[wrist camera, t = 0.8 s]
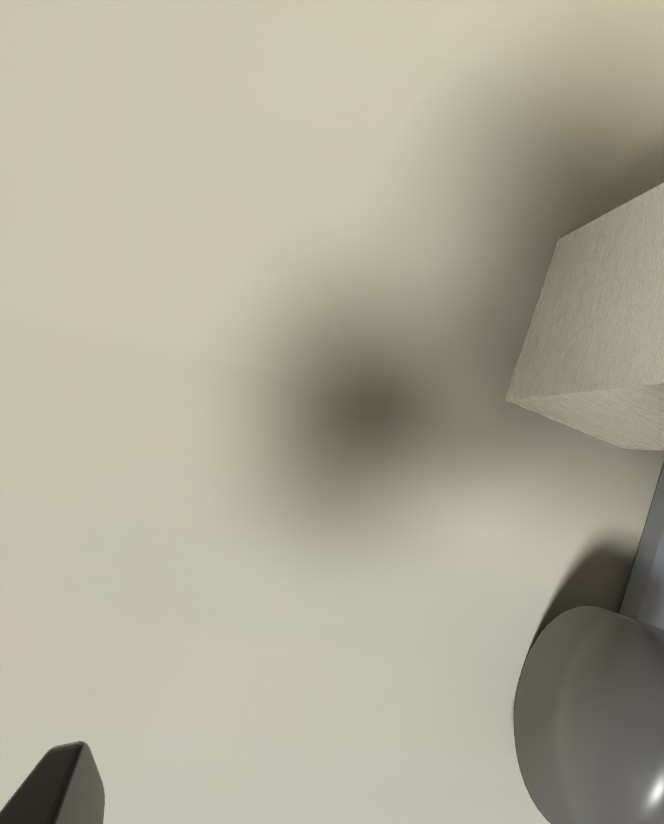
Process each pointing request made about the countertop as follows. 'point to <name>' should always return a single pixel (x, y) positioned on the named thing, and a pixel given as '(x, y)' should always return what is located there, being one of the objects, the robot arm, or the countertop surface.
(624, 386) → the block
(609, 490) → the countertop surface
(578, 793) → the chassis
